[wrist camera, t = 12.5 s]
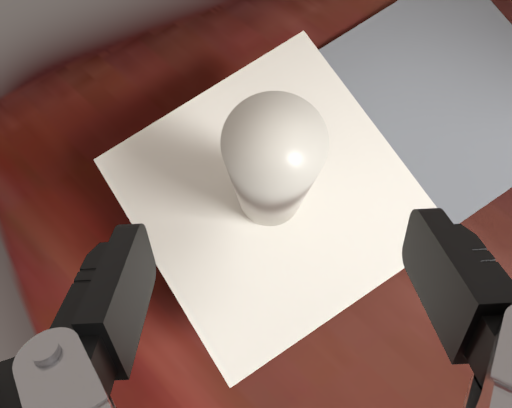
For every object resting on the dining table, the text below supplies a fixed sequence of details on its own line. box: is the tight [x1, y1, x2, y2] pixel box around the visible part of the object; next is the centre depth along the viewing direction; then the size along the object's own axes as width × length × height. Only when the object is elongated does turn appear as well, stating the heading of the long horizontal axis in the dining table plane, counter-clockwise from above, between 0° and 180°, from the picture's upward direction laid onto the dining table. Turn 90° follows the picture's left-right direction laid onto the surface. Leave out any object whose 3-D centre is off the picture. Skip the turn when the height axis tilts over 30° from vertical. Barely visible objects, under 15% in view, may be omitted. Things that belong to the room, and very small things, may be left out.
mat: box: [319, 0, 512, 224], centre depth 29 cm, size 17×17×1 cm
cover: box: [94, 31, 437, 388], centre depth 17 cm, size 15×15×10 cm
